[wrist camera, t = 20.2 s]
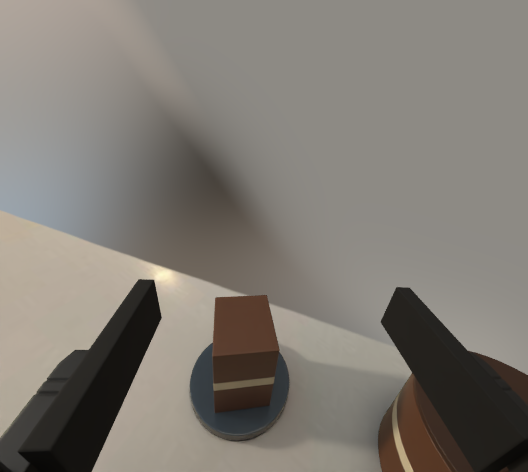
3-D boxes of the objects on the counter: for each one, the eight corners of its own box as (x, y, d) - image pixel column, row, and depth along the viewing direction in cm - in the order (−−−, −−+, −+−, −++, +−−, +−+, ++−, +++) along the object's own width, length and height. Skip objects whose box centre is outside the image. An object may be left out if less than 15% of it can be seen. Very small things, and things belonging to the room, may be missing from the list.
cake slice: (216, 350, 25) (215, 297, 21) (260, 347, 26) (266, 294, 22) (214, 413, 20) (212, 356, 16) (269, 405, 20) (279, 350, 17)
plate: (274, 333, 29) (274, 327, 28) (302, 426, 20) (304, 420, 20) (193, 344, 26) (192, 338, 26) (186, 454, 18) (185, 449, 17)
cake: (448, 390, 24) (496, 333, 20) (627, 596, 14) (807, 569, 10) (350, 414, 21) (382, 353, 17) (483, 694, 11) (647, 718, 7)
